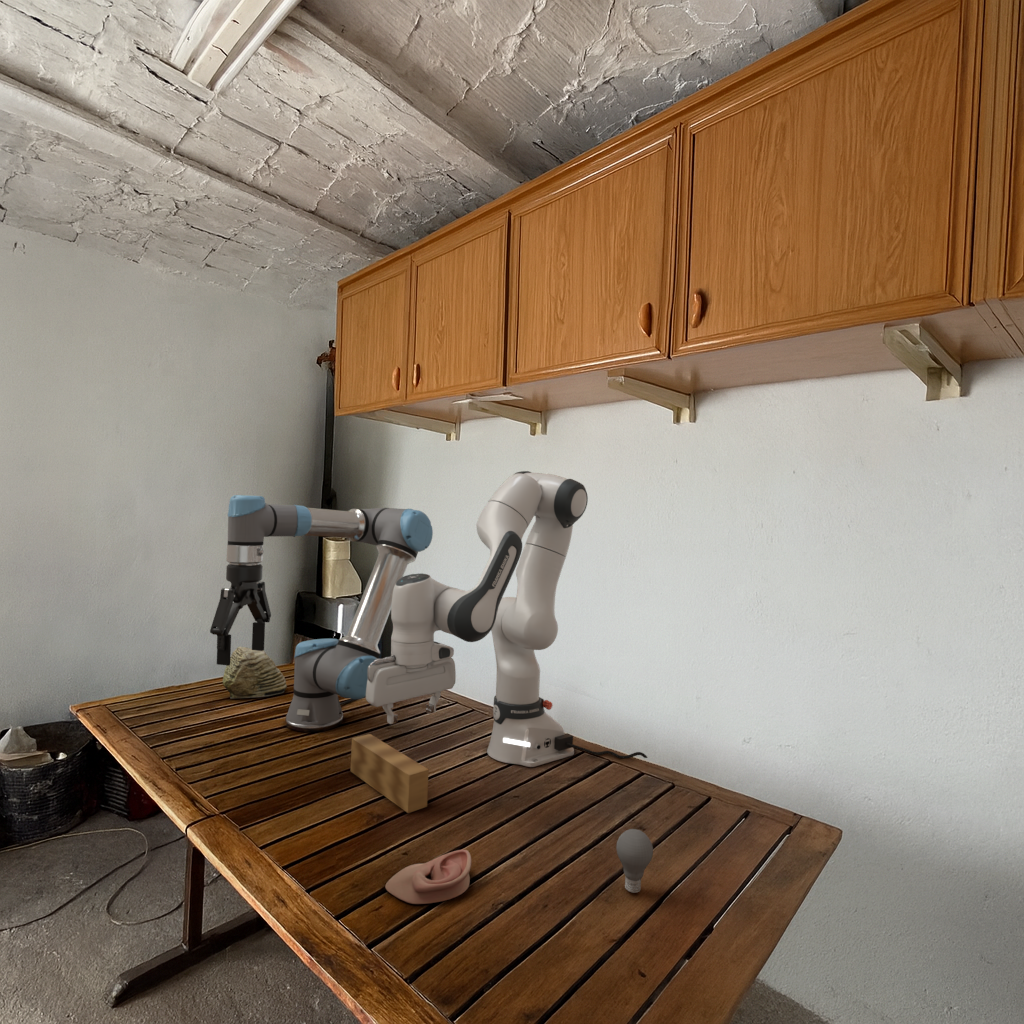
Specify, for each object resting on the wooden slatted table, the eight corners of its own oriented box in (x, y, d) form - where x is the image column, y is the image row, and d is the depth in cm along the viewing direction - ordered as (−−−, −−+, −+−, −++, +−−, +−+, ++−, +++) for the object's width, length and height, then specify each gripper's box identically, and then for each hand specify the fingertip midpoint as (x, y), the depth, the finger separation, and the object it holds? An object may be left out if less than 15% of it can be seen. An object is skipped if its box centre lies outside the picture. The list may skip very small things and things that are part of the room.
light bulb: (610, 879, 108) (613, 822, 108) (644, 879, 109) (647, 822, 109) (619, 902, 102) (622, 840, 102) (655, 901, 103) (658, 840, 103)
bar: (350, 771, 147) (351, 738, 146) (368, 766, 150) (369, 733, 150) (407, 813, 128) (409, 775, 128) (427, 806, 132) (428, 769, 131)
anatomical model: (378, 873, 101) (404, 836, 112) (377, 898, 101) (403, 858, 112) (458, 887, 98) (477, 848, 109) (457, 912, 98) (476, 870, 109)
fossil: (218, 695, 195) (220, 647, 195) (278, 685, 208) (279, 640, 207) (228, 703, 189) (230, 653, 188) (289, 692, 201) (290, 645, 201)
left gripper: (227, 570, 130) (223, 672, 130) (288, 559, 155) (284, 646, 155) (193, 568, 131) (190, 669, 132) (259, 557, 156) (256, 643, 156)
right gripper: (375, 664, 123) (375, 734, 124) (460, 647, 137) (459, 710, 137) (360, 657, 128) (359, 724, 128) (443, 642, 141) (442, 703, 142)
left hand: (241, 657), depth 143 cm, fingers open, 13 cm apart
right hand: (412, 717), depth 133 cm, fingers open, 8 cm apart
